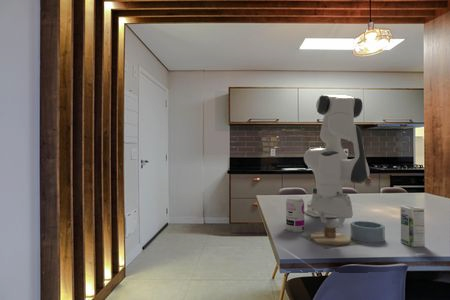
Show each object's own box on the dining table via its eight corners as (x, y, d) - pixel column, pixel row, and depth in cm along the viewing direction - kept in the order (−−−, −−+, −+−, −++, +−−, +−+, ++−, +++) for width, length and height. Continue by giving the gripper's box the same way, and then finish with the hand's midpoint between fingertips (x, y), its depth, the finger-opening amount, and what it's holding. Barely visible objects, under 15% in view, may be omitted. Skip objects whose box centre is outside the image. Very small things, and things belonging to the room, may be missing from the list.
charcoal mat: (300, 237, 116) (300, 235, 116) (333, 233, 121) (333, 232, 121) (325, 250, 100) (325, 248, 100) (363, 245, 105) (363, 243, 105)
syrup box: (400, 242, 108) (399, 205, 108) (414, 241, 108) (413, 205, 109) (411, 247, 102) (410, 208, 103) (425, 246, 103) (424, 208, 103)
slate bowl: (344, 236, 117) (344, 222, 117) (367, 233, 120) (367, 220, 120) (367, 245, 105) (366, 229, 105) (391, 241, 109) (391, 226, 109)
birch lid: (303, 236, 116) (303, 224, 116) (333, 233, 120) (332, 221, 120) (326, 247, 101) (326, 233, 102) (359, 243, 106) (358, 229, 106)
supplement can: (304, 229, 129) (304, 197, 129) (304, 233, 121) (303, 200, 122) (287, 227, 132) (287, 196, 132) (285, 232, 124) (285, 199, 124)
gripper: (356, 193, 102) (357, 230, 101) (321, 188, 121) (322, 219, 121) (342, 194, 100) (343, 232, 99) (309, 189, 119) (309, 220, 119)
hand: (331, 225), depth 110 cm, fingers open, 8 cm apart
